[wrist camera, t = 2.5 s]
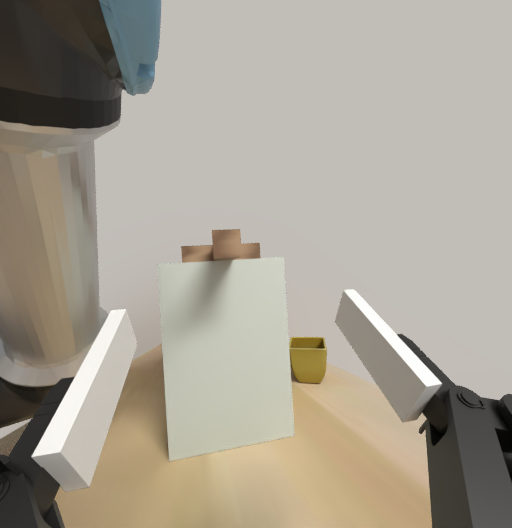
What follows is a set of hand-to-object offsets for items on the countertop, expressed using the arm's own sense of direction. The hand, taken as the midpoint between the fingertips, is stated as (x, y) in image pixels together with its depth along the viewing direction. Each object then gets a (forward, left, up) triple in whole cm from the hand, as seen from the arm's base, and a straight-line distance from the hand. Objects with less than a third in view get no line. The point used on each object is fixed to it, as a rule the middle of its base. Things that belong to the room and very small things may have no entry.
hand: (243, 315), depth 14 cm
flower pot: (+20, +40, -26) cm, 51 cm away
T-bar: (0, +21, +4) cm, 22 cm away
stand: (0, +28, -26) cm, 38 cm away
